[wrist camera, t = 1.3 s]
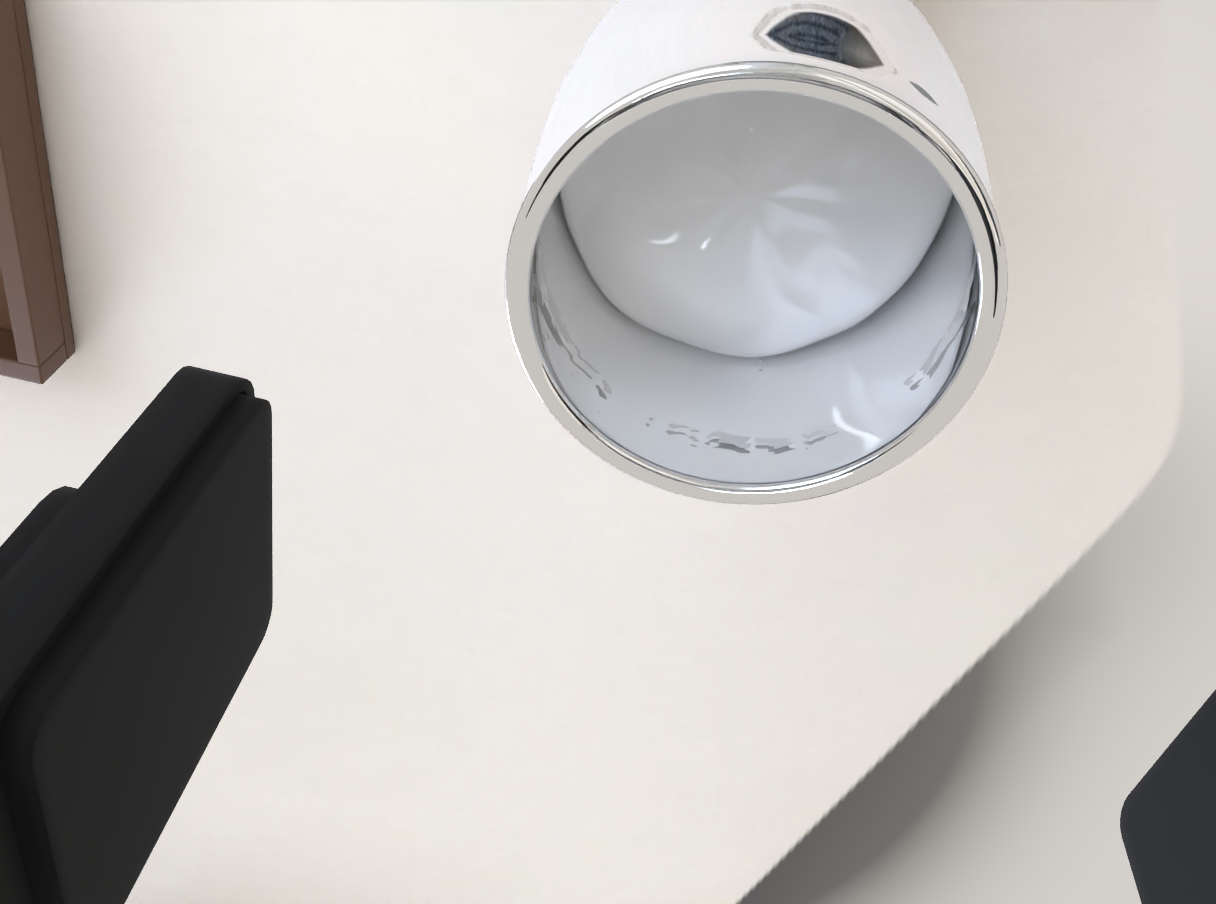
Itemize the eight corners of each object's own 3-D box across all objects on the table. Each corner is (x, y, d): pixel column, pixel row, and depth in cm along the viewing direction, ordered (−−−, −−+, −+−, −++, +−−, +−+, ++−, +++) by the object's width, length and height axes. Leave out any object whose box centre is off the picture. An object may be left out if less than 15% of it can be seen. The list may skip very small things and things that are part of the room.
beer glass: (570, 60, 27) (410, 381, 15) (713, -221, 23) (648, -80, 11) (798, 194, 29) (814, 584, 17) (971, -49, 25) (1154, 237, 13)
